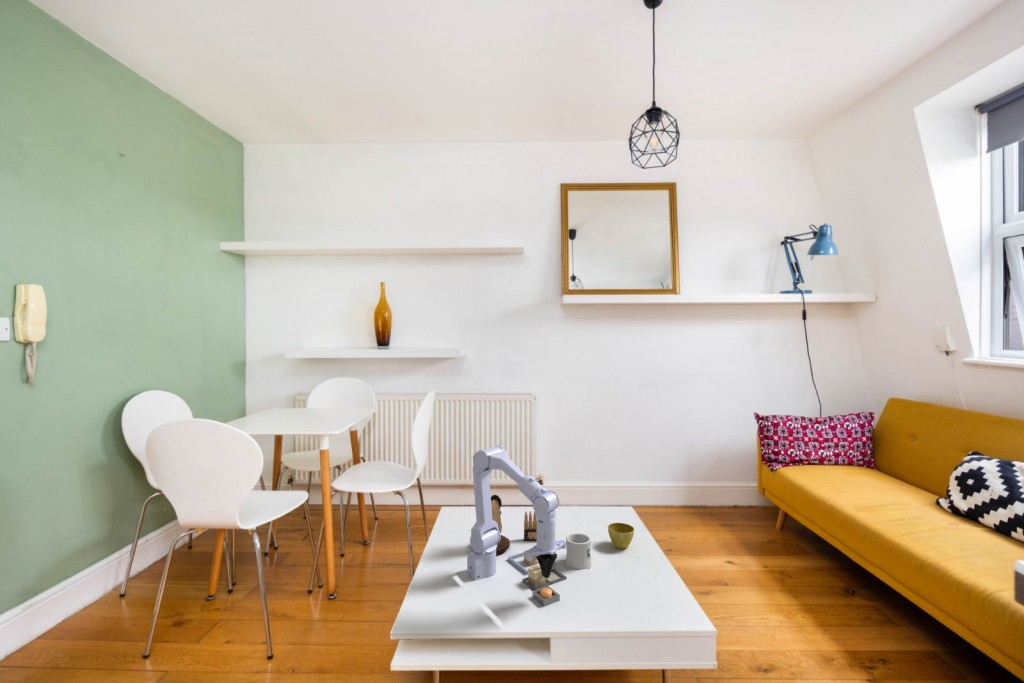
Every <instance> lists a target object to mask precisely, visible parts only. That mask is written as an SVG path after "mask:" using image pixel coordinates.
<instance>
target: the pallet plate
mask: <svg viewBox="0 0 1024 683" xmlns="http://www.w3.org/2000/svg"><path fill="white" fill-rule="evenodd" d="M565 580H567V576H566V575H565V574H563V573H562V572H560V571H559V570H557V569H556V568H553V567H552V569H551V573H550V577H549V578H545V584H542V585H539V586H536V587H534V586H533V585H532V584H531V583H529V582H528V576H527V577H525V578H522V582H523V583H524V584H525V585H527V586H528V587H529V588H530V589H532V590H533V591H535V590H538V589H541V588H544V587H547V586H549V587H550V586H551V585H554V584H557V583H559V582H563V581H565Z"/></svg>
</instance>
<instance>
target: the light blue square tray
mask: <svg viewBox="0 0 1024 683" xmlns="http://www.w3.org/2000/svg"><path fill="white" fill-rule="evenodd" d="M518 558H519V559H520V558H524V551H523V552H520V553H517V554H513V555H510V556H508V557H507V561H509V563H511V564H513V565H514V566H515V567H516V568H518V569H519V570H520V571H521V572H522V573H524V574H525V575H527V576H528V569H526V568H525V567H524V566H522V565H521V564H520V563H518V562H517V561H516V559H518ZM556 563H557V562H556V561H555V562H554V564H553V566H552V567H555V566H556V565H557V564H556Z"/></svg>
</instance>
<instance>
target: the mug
mask: <svg viewBox="0 0 1024 683" xmlns="http://www.w3.org/2000/svg"><path fill="white" fill-rule="evenodd" d="M565 542H566V556H565V565H566V566H568V567H569V568H570V569H573V570H579V571H581V570H590V569H591V568H592V557H591V545H592V544H591V543H592V539H591V537H590V536H589V535H587V534H585V533H580V532H573V533H569V534H567V535H566V537H565Z"/></svg>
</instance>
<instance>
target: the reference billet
mask: <svg viewBox="0 0 1024 683" xmlns="http://www.w3.org/2000/svg"><path fill="white" fill-rule="evenodd" d="M527 570H528V575H527V577H528V582H529V583H531V584H532V585H533V586H534V587H536V586H539V585H542V584H545V583H546V582H545V577H543V576H542V572H541V568H540V565H539V564H536V565H533V566H529V567H528V568H527Z"/></svg>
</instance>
